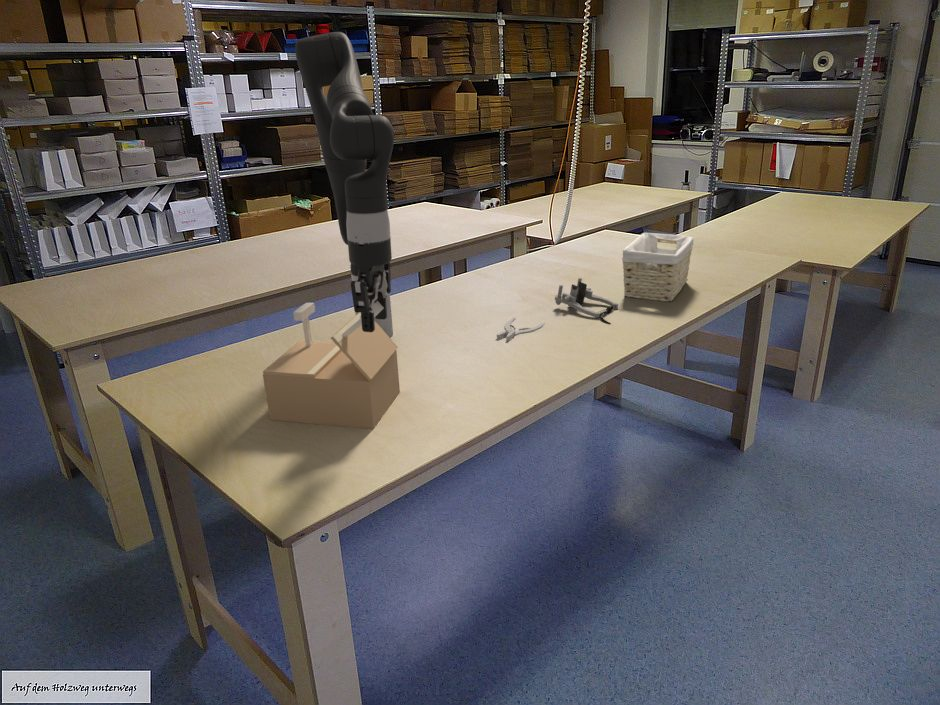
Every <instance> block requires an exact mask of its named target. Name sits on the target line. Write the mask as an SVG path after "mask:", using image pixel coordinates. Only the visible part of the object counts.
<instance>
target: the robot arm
mask: <svg viewBox="0 0 940 705" xmlns="http://www.w3.org/2000/svg"><path fill="white" fill-rule="evenodd" d="M294 50H295V58H296V62H297V66H298V70H299V74H300V76H301V79H302V82H303V86H304V88H305V92H306V95H307V98H308V101H309V105H310V108H311V112H312V115H313V118H314V124H315V127H316V130H317V131H316V132H317V135H318V140H319V145H320V149H321V154H322V157H323V163H324V166H325V169H326V172H327V175H328V179H329V183H330V187H331V190H332V193H333V198H334V204H335V209H336V215H337V220H338V222H337V223H338V226H339V231H340V232H339V233H340V236H341V239H342V241H343V243H344V244H345V245H346V246H347V249H348V250H347V251H348V261H349V263H350V266H349V267H350V274H351V275H350V276H351V282H350V289H351V296H352V303H353V309H354V313H355V316H356V315H357V314H358V313H359V312H360V313H361V321H362V330H363V331H364V332H373V331H374V330H375V322H376V323H377V324H378V325H379V326H380V327H381V328H382V330H383V331H384V332H385V333H386V334H387V335H388V336H389V337H390V338H391V337H392V336H393V335H394V328H393V317H392V316H393V315H392V305H391V304H392V302H391V290H392V289H391V283H392V282H391V272H392V271H391V266H392V265H391V261H392V240H391V237H392V236H391V223H390V218H389V217H390V216H389V213H388V194H387V193H388V192H387V180H388V173H389V166H390V161H391V157H392V155H393V154H392V152H393V149H394V143H395V131H394V128H393V125H392V123H391V121H390V120H389V119H388V117H386V116H384V115H379V114H376V115H375V114H373V109H372V106H371V104H370V102H369V100H368V98H367V96H366V93H365V91H364V89H363V83H362V78H361V73H360V69H359V64H358V61H357V58H356V57H357V56H356V53H355V50H354V48H353V45H352V42H351V40H350V39H349V37H348V36H347V35H346V33H344V32H342V31H333V32H332V31H331V32H328V33H322V34H317V35H312V36H307V37H303V38H299V39H298V40H297V41H296V42H295V47H294ZM324 87H328V90H327V94H325V93H324V91H323V88H324ZM370 160H372V161H371V164H370V166H369V167H368V168H367V161H370ZM366 168H367V170H366ZM377 301H378V302H379V303H380V304H381V305H382V306H383V307H384V309H383V310H382V311H381V312H379V313H378V314H377V315H376V316H375V317H374V312H373V311H374V303H376V302H377ZM374 320H375V322H374Z"/></svg>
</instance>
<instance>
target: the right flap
mask: <svg viewBox="0 0 940 705" xmlns="http://www.w3.org/2000/svg"><path fill="white" fill-rule="evenodd" d="M383 309H384V307H383V306H382V305H381V304H380V303H379V302H378V301H377V302H376V303H374V311H373V312H374V317H375V316H376V315H377V314H378V313H379V312H381V311H382V310H383ZM374 322H375V320H374ZM330 339H331V341H333V342H332V343H335V344H336V345H337V346H338V347H339V348H340V349H341V350H342V352H343V353H344V354H345V355H346V356H347V357H348V358H349V359H350V360H351V362H352V363H353V364H354V365H355V366H356V367H357V368H358V369H359V370H360V372H361V373H362V374H363V375H364V376H365V377H366V378H367V379H368V380H369V381H370V380H371V379H372V378H373V377H374V375H375V374H376V373H377V372H378V371H379V369H380V368H381V367H382V366H383V365H384V363H385V362H386V361H387V360H388V359H389V357H390V356H391V355H392V354H393V353H394V351H395V350H396V351H397V349H398V348H399V347H398V346H397V345H396V343H395V342H394V341H393V340H392V338H391V337H389V336H388V335H387V334H386V333H385V332H384V331H383V330H382V328H381V327H380V326H379V325H378V324H377V323H376V322H375V330H374V331H373V332H364V331H363V330H362V321H361V313H360V312H359V313H358V314H357V315H356V314H355V316H354V317H352V318H351V319H350V320H349V321H348V322H346V324H344V325H343V326H342V327H341V328H340V329H339V330H338V331H337V332H336V333H334V334H333V335H332V336H331V337H330Z"/></svg>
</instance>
